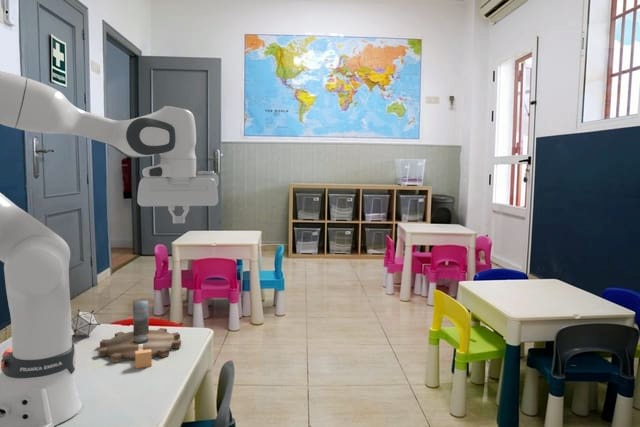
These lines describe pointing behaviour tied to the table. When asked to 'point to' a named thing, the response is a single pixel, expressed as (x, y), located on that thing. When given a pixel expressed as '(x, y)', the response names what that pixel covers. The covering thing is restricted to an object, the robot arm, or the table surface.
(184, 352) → the table surface
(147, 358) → the orange wooden block
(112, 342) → the sprocket
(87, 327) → the game die
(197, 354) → the table surface
